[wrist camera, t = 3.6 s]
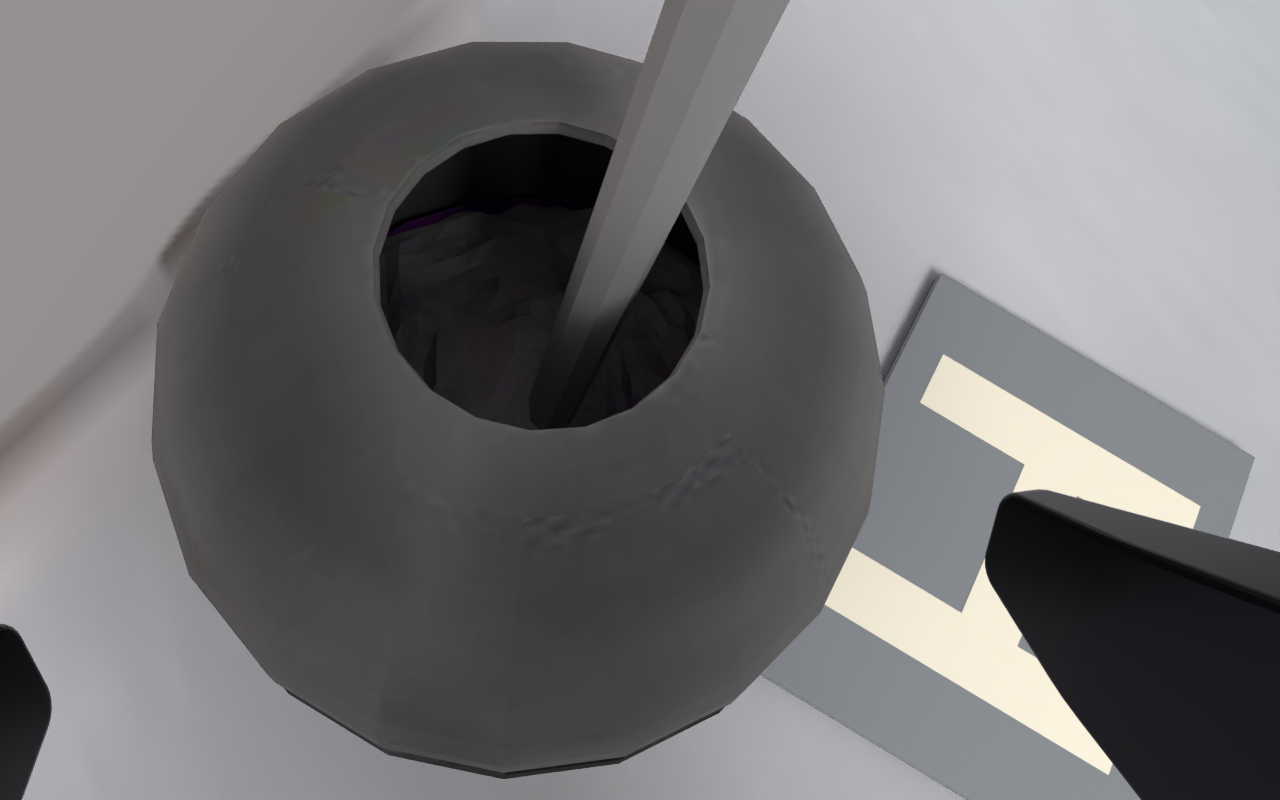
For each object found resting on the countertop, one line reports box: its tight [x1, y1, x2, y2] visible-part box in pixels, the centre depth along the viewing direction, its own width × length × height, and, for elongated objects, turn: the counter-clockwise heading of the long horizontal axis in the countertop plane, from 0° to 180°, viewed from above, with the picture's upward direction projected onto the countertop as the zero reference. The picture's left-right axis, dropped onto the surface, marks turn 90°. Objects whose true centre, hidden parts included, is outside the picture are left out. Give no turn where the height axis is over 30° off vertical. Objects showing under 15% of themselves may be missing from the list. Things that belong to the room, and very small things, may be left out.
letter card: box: [760, 273, 1255, 800], centre depth 21 cm, size 12×10×1 cm
